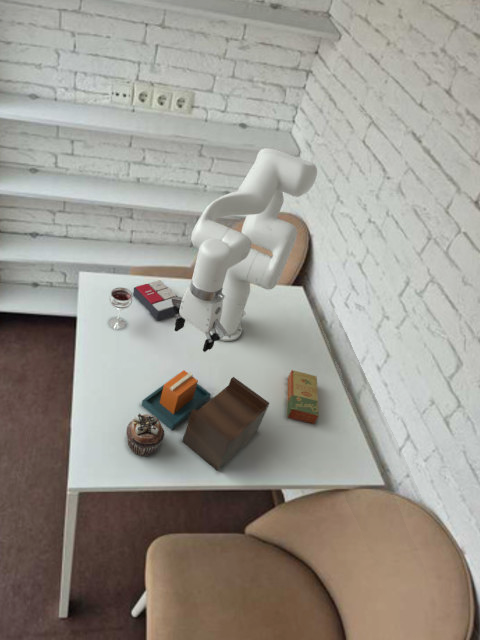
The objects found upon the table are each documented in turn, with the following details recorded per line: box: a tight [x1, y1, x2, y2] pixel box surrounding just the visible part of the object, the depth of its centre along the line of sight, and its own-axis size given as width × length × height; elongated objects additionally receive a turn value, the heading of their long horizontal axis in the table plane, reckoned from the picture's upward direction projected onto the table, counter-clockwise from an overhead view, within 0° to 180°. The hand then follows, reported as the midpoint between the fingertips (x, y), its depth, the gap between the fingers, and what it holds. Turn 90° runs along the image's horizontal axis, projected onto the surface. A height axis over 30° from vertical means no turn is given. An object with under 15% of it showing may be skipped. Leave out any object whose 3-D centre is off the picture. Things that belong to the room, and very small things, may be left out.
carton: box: [286, 369, 320, 425], centre depth 158 cm, size 8×16×4 cm, turn 171°
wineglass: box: [109, 286, 134, 330], centre depth 166 cm, size 7×7×12 cm
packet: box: [160, 369, 199, 414], centre depth 147 cm, size 8×5×8 cm, turn 140°
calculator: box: [132, 279, 181, 321], centre depth 180 cm, size 11×4×15 cm
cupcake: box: [125, 413, 165, 457], centre depth 134 cm, size 10×10×10 cm
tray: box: [141, 374, 212, 431], centre depth 149 cm, size 17×11×2 cm
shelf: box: [181, 376, 270, 472], centre depth 139 cm, size 18×12×12 cm, turn 140°
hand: (192, 338), depth 140 cm, fingers open, 9 cm apart
